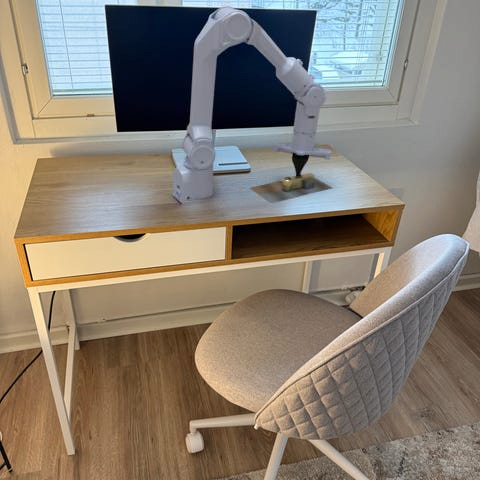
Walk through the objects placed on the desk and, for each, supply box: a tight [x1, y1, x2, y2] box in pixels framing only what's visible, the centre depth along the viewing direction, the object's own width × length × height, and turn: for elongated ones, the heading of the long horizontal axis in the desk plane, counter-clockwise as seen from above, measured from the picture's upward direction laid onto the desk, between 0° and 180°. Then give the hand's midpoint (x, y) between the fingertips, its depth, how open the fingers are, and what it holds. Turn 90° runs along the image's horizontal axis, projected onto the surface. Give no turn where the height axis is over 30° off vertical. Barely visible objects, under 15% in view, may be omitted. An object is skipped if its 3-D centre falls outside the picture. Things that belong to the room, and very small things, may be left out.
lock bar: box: [281, 172, 315, 191], centre depth 121 cm, size 9×3×3 cm, turn 119°
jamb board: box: [249, 177, 333, 204], centre depth 122 cm, size 20×10×1 cm, turn 122°
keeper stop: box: [303, 177, 315, 190], centre depth 121 cm, size 3×1×2 cm, turn 122°
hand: (297, 180), depth 123 cm, fingers closed, pressing on lock bar
